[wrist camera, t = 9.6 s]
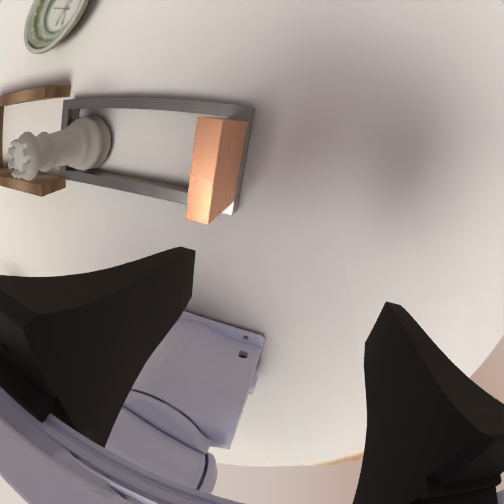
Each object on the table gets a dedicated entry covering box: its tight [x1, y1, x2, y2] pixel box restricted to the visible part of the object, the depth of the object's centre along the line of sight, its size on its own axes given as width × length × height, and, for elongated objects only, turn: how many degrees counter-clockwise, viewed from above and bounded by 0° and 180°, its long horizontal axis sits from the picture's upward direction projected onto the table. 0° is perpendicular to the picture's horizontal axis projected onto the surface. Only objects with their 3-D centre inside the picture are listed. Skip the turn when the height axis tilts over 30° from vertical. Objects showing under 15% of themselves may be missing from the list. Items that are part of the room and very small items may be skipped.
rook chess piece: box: [8, 116, 111, 181], centre depth 16 cm, size 4×4×8 cm
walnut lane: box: [0, 86, 71, 197], centre depth 20 cm, size 14×9×3 cm, turn 80°
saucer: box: [24, 0, 89, 54], centre depth 14 cm, size 10×10×2 cm
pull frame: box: [60, 97, 255, 224], centre depth 16 cm, size 16×7×6 cm, turn 80°
